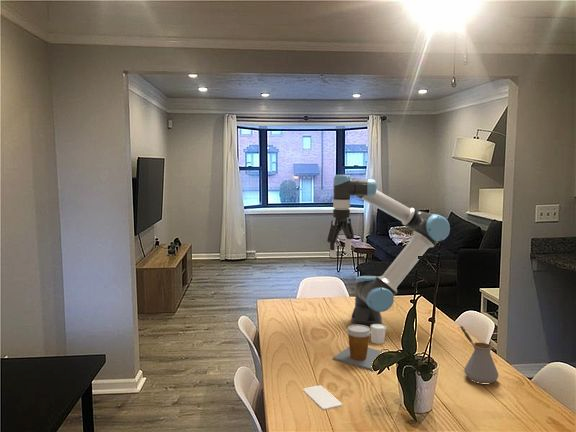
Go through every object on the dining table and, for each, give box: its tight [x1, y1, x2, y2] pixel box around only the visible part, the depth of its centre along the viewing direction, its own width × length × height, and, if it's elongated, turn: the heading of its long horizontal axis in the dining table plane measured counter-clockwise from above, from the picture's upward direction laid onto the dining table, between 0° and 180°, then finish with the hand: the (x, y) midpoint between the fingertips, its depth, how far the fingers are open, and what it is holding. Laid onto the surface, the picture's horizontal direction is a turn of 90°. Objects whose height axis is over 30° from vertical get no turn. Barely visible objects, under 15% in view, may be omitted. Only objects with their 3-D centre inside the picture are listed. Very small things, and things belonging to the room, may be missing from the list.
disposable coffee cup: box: [346, 324, 371, 360], centre depth 182 cm, size 10×10×12 cm
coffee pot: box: [457, 325, 499, 384], centre depth 170 cm, size 21×12×15 cm, turn 8°
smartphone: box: [302, 384, 343, 411], centre depth 152 cm, size 7×1×15 cm
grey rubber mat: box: [332, 346, 385, 371], centre depth 184 cm, size 18×18×1 cm
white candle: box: [369, 323, 387, 345], centre depth 202 cm, size 7×7×7 cm
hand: (340, 255), depth 209 cm, fingers open, 13 cm apart
